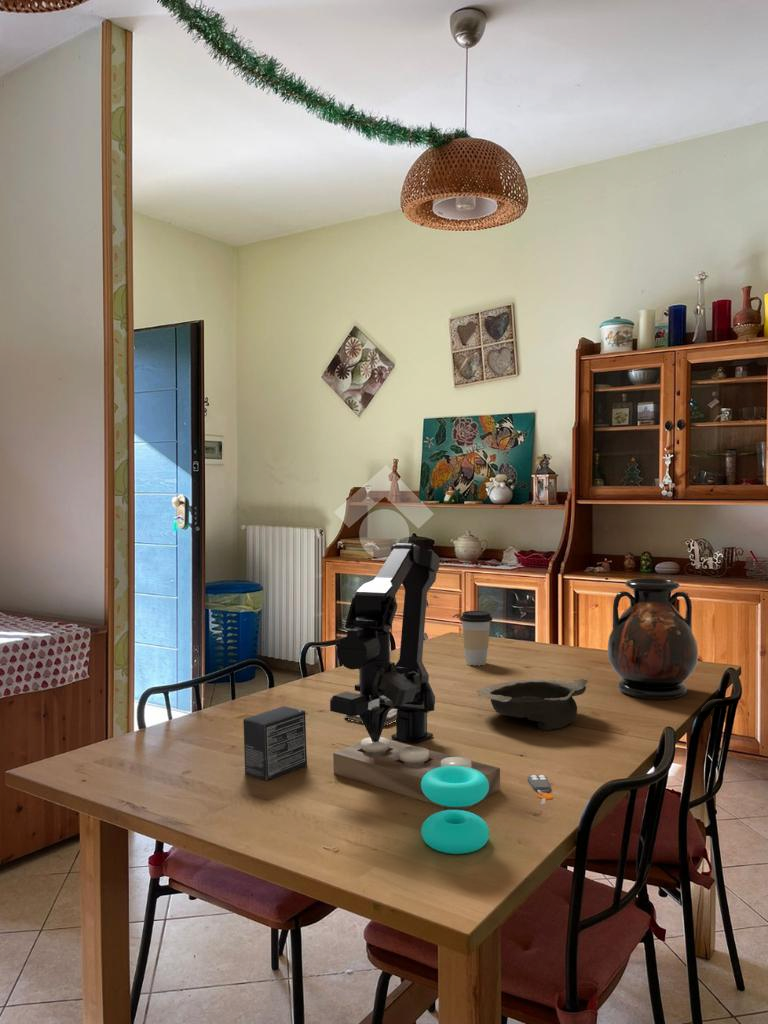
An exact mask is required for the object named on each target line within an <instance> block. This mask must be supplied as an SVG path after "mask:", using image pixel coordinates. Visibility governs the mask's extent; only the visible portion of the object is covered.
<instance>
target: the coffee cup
mask: <svg viewBox="0 0 768 1024" xmlns="http://www.w3.org/2000/svg"><path fill="white" fill-rule="evenodd" d="M461 614H462V615H460V618H459V620H460V621H461V626H462V629H461V631H462V639H463V640H462V641H463V648H464V655H465V662H466V663H465V664H466V665H467V664H468V666H471V665H473V667H481V666H480V665H483V666H486V665H487V660H488V659H487V657H488V648H489V645H490V644H489V643H490V641H489V640H490V632H491V629H490V627H491V626H490V625H491V622H492V621H493V617H492V616H491V613H490V612H489V611H486V610H485V611H484V610H468V611H467V610H466V611H463V612H462V613H461ZM475 665H476V666H475ZM477 665H478V666H477Z"/></svg>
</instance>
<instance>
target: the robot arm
mask: <svg viewBox="0 0 768 1024" xmlns="http://www.w3.org/2000/svg"><path fill="white" fill-rule="evenodd" d="M439 569H440V557H439V555H438V554H436V553H435V551H434V550H433V549H427V548H424V547H421V546H419V545H417V544H415V543H402V542H401V543H397V542H396V543H395V544H393V545H392V546H391V549H390V553H389V555H388V557H387V558H386V559H385V562H384V563H383V564H382V566H381V568H380V570H379V571H378V573H377V574H376V576H375V577H374V579H372V580H370V581H368V582H366V583H365V582H364V583H363V584H362V586H360V587H359V588H358V589H357V590H356V591H355V593H354V595H353V597H352V599H351V601H350V606H349V610H348V614H347V617H346V620H345V624H344V628H345V630H346V637H344V638H342V640H341V641H340V642H339V643H338V646H337V648H336V656H337V659H338V662H339V663H340V664H341V665H342V666H343V667H345V669H349V670H358V675H359V678H358V679H359V682H358V684H355V685H354V691H355V693H354V692H350V691H344V692H339V693H337V694H334V695H333V696H332V697H331V698H330V699H329V711H330V712H333V713H337V714H342V715H345V716H347V715H349V716H357V715H359V716H360V718H361V720H362V721H363V723H362V724H363V725H364V728H365V730H366V731H367V733H368V735H369V737H370V738H371V740H372V741H374V742H377V741H379V739H380V737H382V736H381V735H382V732H383V729H384V727H385V726H384V723H385V720H386V717H387V715H388V712H389V711H390V710H391V709H398V710H397V718H396V723H395V725H396V726H395V729H396V732H395V733H394V734H391V736H390V738H391V739H393V740H394V739H395V740H398V741H403V742H405V743H411V744H418V743H421V742H422V741H425V740H427V739H430V738H432V737H433V736H434V733H432V732H428V713H429V712H432V711H433V712H434V711H435V704H436V696H435V693H434V691H433V689H432V687H431V684H430V683H429V682H430V681H429V677H430V676H429V673H428V671H427V669H426V667H425V665H424V663H423V652H424V638H425V629H426V627H425V626H426V612H427V611H426V610H427V601H428V600H427V599H428V592H429V590H431V587H432V586H433V584H434V583H435V582H436V580H437V574H438V571H439ZM401 585H402V586H403V589H404V598H403V599H404V600H403V610H402V613H403V614H402V623H401V638H400V649H399V658H398V661H397V662H393V661H391V632H390V631H391V630H392V629H393V621H394V619H395V615H396V613H397V609H398V603H397V598H396V595H397V593H398V591H399V590H400V588H401ZM356 692H359V693H356ZM383 726H384V727H383Z"/></svg>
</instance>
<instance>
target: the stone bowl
mask: <svg viewBox="0 0 768 1024" xmlns="http://www.w3.org/2000/svg"><path fill="white" fill-rule="evenodd" d="M587 683H588V680H587V679H584V678H580V679H579V680H577V679H575V680H573V681H570V680H566V679H548V678H547V679H546V678H545V679H520V680H509V681H505V682H500V683H495V684H490V685H486V686H484V687H482V688H479V689H478V690H476V694H478V695H477V696H478V697H482V698H485V699H486V698H487V699H489V700H490V703H491V706H492V708H493V710H494V711H495V712H496V713H497V714H501V715H502V716H503V715H505V716H508V717H516V718H518V719H519V718H520V719H521V718H527V720H529V721H533V722H534V721H535V722H537V726H538V728H539V729H540V730H542V731H545V730H546V731H547V732H549V731H548V730H550V731H552V730H558V729H561V728H565V727H567V726H569V724H572V723H574V722H575V721H576V719H577V718H578V706H577V701H575V699H574V698H573V697H577V696H580V695H583V694H584V693H585V692H586V690H587V686H586V685H587Z"/></svg>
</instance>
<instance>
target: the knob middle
mask: <svg viewBox="0 0 768 1024" xmlns="http://www.w3.org/2000/svg"><path fill="white" fill-rule="evenodd" d="M428 750H429V749H428V748H426V747H423V746H414V745H412V747H405V748H402V749H401V750H400V751H399V758H400V760H401V761H403V762H404V764H407V765H410V766H414V767H419V766H421V765H423V764H424V762H425V761H427V760H428V759H429V751H428Z"/></svg>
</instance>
